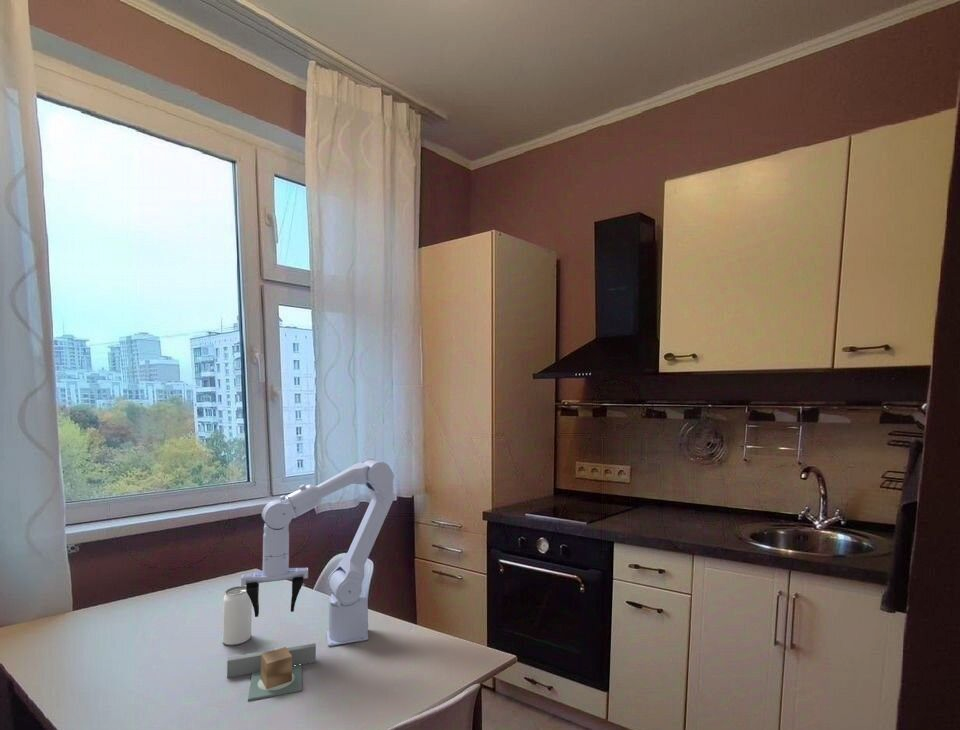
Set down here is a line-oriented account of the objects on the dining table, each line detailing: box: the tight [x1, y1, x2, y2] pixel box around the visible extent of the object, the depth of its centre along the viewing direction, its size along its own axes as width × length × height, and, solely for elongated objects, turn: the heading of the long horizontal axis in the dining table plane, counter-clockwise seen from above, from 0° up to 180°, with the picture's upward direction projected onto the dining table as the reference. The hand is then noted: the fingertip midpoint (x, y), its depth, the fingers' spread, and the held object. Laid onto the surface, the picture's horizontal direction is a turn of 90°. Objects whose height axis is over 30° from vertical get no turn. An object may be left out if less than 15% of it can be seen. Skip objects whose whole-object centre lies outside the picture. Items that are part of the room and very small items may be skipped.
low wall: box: [226, 643, 317, 679], centre depth 112 cm, size 18×2×4 cm, turn 110°
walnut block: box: [261, 646, 292, 689], centre depth 106 cm, size 5×5×5 cm
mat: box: [247, 665, 303, 702], centre depth 106 cm, size 10×10×1 cm
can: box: [221, 585, 253, 646], centre depth 125 cm, size 6×6×12 cm
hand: (274, 612), depth 118 cm, fingers open, 7 cm apart
